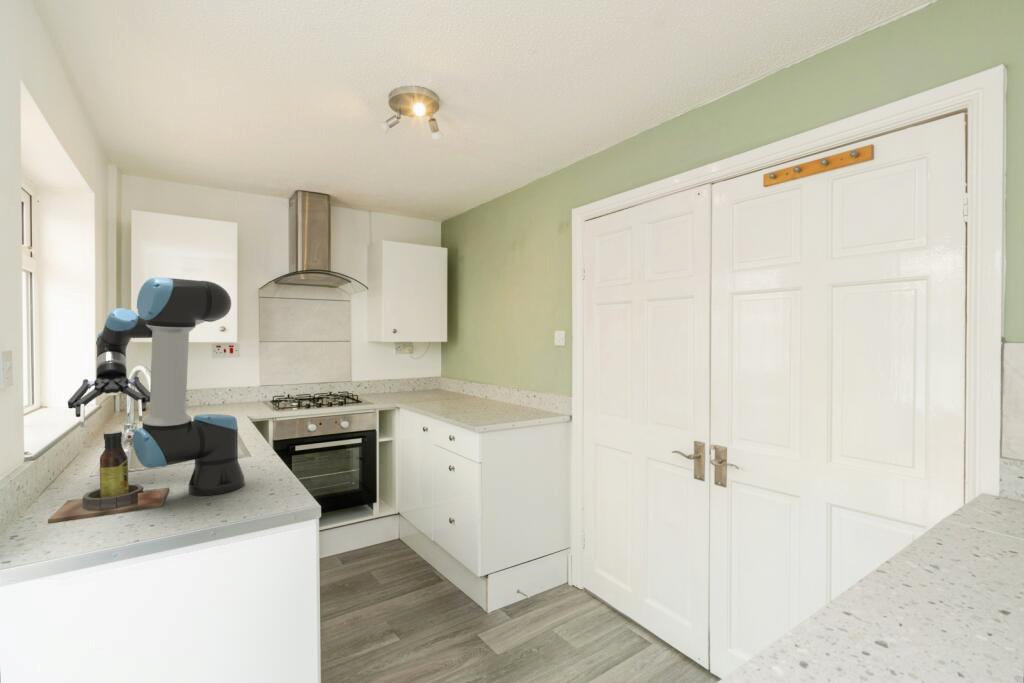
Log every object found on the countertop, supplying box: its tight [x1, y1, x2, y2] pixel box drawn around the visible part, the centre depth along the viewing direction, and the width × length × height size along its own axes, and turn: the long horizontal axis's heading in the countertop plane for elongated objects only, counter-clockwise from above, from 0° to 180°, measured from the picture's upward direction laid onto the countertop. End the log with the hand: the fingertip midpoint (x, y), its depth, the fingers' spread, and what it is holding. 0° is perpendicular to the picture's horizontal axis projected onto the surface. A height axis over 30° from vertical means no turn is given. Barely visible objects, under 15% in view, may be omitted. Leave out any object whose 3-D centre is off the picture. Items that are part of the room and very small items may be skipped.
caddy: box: [47, 483, 170, 524], centre depth 139 cm, size 24×16×4 cm, turn 119°
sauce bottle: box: [99, 430, 129, 498], centre depth 139 cm, size 7×6×20 cm
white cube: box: [123, 448, 132, 471], centre depth 173 cm, size 7×7×7 cm
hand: (112, 421), depth 147 cm, fingers open, 13 cm apart
